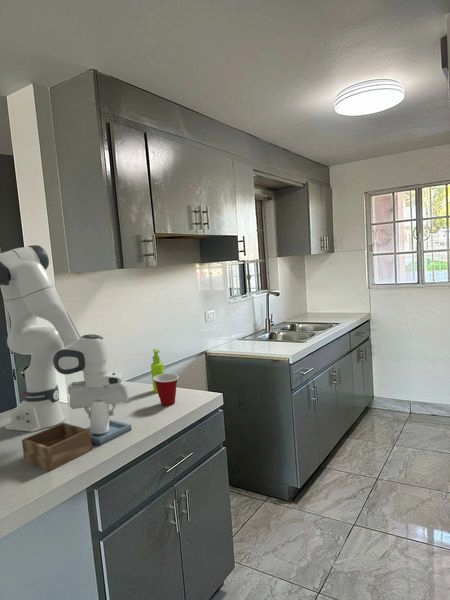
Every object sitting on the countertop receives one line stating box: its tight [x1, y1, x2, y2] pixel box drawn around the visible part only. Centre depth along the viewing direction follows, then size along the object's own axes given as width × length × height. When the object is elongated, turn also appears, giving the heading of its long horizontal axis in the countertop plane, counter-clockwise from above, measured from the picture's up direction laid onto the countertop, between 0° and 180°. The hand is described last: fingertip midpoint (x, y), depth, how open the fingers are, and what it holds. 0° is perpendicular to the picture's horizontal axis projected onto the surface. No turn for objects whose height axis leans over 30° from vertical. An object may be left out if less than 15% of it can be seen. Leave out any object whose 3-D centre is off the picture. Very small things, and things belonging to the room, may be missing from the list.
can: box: [89, 401, 110, 435], centre depth 147 cm, size 6×6×12 cm
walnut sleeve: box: [21, 422, 93, 472], centre depth 133 cm, size 15×15×7 cm
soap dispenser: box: [150, 348, 165, 393], centre depth 193 cm, size 6×7×20 cm
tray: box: [84, 419, 132, 446], centre depth 148 cm, size 14×14×2 cm
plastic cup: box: [153, 373, 180, 407], centre depth 174 cm, size 11×11×12 cm
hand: (101, 416), depth 147 cm, fingers open, 6 cm apart
